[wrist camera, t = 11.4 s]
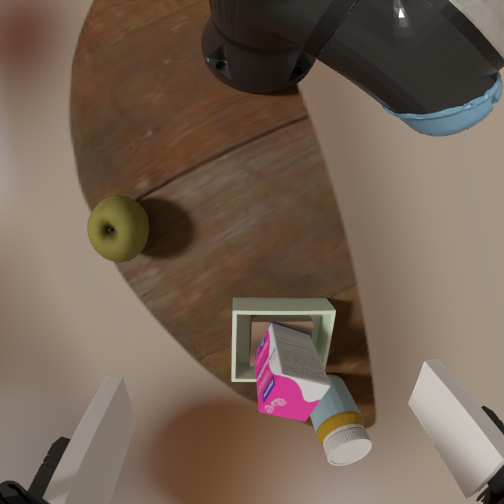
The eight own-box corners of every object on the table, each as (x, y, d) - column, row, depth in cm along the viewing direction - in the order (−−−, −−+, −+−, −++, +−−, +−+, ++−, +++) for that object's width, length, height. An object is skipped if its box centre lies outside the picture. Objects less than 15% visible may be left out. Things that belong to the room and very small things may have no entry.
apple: (145, 185, 35) (125, 186, 28) (165, 243, 37) (150, 256, 30) (97, 206, 35) (72, 211, 28) (117, 260, 37) (95, 276, 30)
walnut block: (251, 312, 39) (252, 321, 36) (308, 312, 40) (313, 321, 37) (248, 354, 41) (250, 366, 38) (302, 353, 41) (306, 365, 38)
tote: (232, 296, 39) (232, 310, 34) (325, 297, 40) (335, 310, 35) (231, 363, 41) (231, 381, 37) (315, 362, 42) (323, 378, 38)
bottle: (344, 368, 43) (378, 430, 28) (341, 398, 44) (370, 459, 30) (302, 376, 43) (326, 445, 28) (303, 406, 44) (323, 472, 30)
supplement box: (269, 319, 36) (282, 372, 25) (309, 332, 37) (335, 385, 26) (251, 355, 37) (258, 413, 26) (290, 366, 38) (308, 423, 27)
